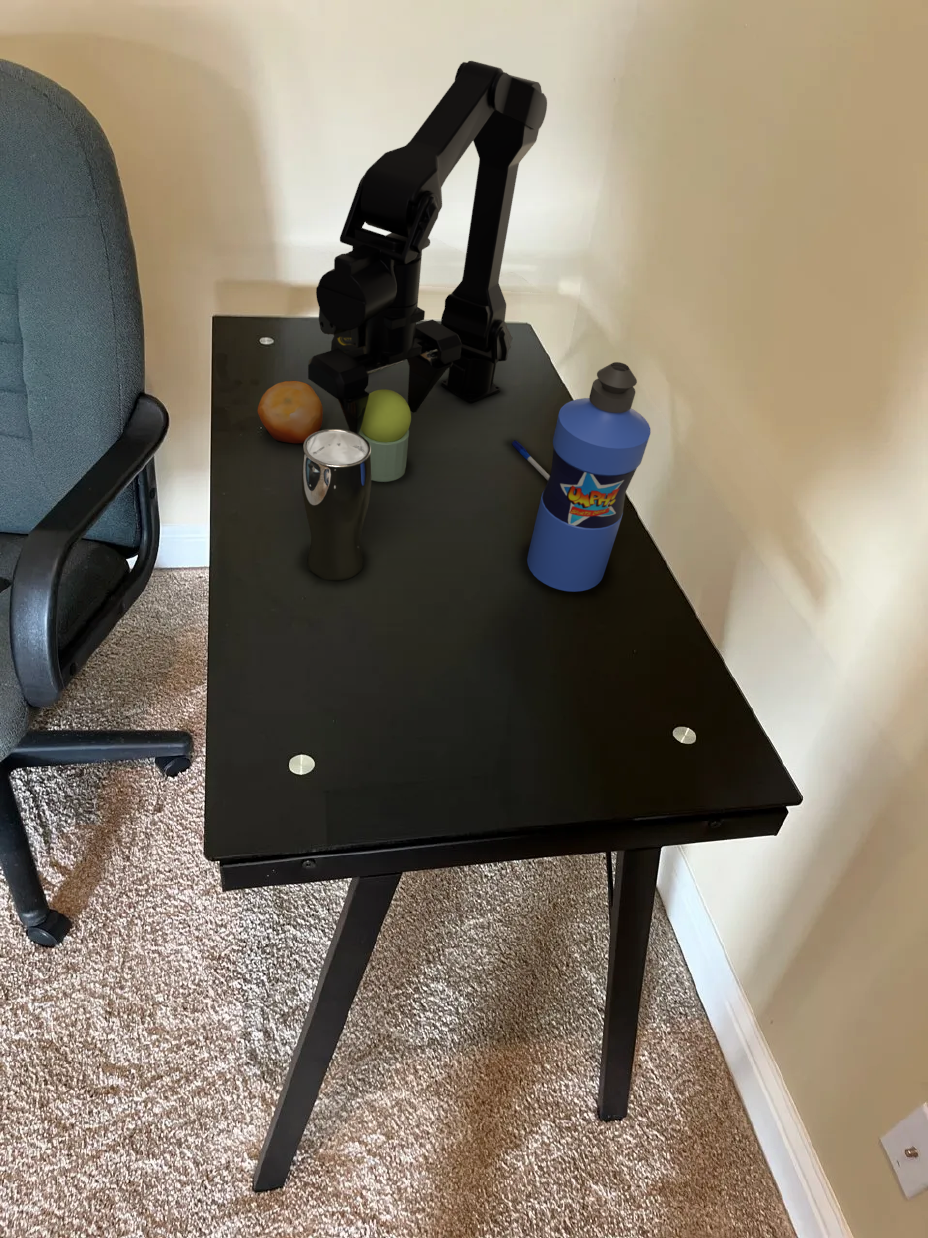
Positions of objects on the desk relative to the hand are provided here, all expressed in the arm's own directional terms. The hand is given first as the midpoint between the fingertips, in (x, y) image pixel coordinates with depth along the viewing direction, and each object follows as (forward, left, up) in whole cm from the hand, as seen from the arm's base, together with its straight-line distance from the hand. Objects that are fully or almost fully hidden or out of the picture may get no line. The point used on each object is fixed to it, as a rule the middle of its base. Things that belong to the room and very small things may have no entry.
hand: (383, 422), depth 100 cm
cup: (0, 0, -7) cm, 7 cm away
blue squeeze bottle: (-5, +27, -7) cm, 28 cm away
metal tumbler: (+16, +11, -7) cm, 20 cm away
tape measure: (-14, -22, -7) cm, 27 cm away
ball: (0, 0, +1) cm, 1 cm away
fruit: (+5, -12, -7) cm, 15 cm away
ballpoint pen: (-17, +11, -7) cm, 22 cm away
